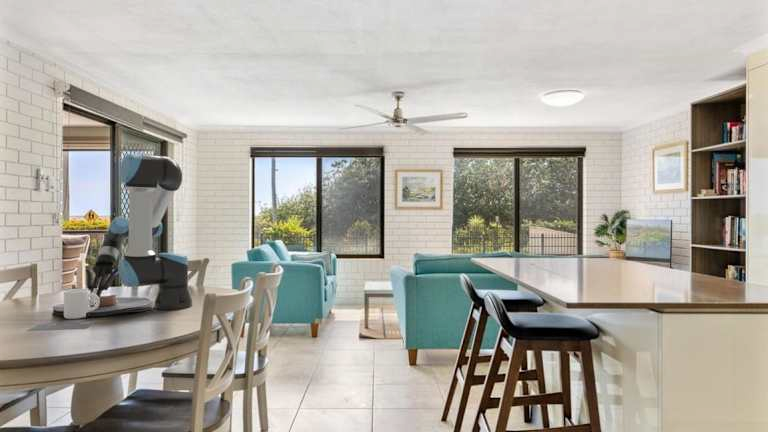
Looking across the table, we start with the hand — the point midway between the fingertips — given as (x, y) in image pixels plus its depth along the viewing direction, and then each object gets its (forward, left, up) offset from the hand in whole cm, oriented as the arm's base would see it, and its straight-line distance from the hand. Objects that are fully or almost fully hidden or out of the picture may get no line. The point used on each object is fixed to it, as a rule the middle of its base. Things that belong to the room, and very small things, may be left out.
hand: (92, 303), depth 198 cm
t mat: (0, +24, -4) cm, 24 cm away
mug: (0, +10, -3) cm, 11 cm away
